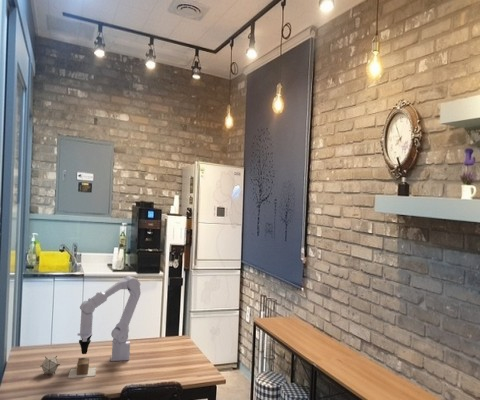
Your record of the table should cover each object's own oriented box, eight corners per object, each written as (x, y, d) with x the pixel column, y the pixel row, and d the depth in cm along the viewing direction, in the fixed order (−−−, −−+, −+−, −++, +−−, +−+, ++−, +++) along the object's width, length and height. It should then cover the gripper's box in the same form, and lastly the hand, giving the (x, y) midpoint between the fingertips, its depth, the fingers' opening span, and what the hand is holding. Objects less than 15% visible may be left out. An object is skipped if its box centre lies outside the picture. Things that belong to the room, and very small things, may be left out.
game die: (50, 382, 189) (49, 371, 183) (36, 374, 191) (35, 362, 185) (64, 368, 196) (63, 356, 191) (50, 359, 198) (49, 348, 192)
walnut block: (89, 357, 199) (88, 363, 191) (88, 367, 199) (87, 374, 191) (78, 357, 198) (77, 364, 189) (78, 367, 198) (76, 375, 189)
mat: (96, 368, 199) (96, 367, 199) (94, 376, 190) (95, 375, 190) (70, 370, 196) (70, 369, 196) (68, 378, 186) (68, 377, 186)
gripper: (79, 321, 209) (77, 346, 209) (76, 329, 195) (75, 356, 195) (93, 320, 211) (92, 346, 211) (91, 328, 197) (90, 355, 197)
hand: (84, 351), depth 203 cm, fingers open, 7 cm apart
